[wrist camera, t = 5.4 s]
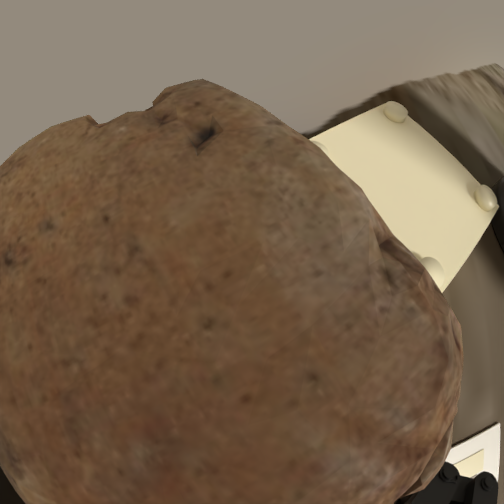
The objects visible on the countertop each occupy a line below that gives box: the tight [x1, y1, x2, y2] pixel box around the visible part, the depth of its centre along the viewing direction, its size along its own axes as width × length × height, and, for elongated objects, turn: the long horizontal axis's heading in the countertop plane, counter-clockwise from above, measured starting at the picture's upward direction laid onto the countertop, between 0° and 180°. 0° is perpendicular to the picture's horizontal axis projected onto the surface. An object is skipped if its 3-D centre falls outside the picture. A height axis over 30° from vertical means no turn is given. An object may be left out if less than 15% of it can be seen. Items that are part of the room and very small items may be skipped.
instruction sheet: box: [445, 423, 500, 482], centre depth 15 cm, size 10×14×1 cm
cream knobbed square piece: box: [309, 101, 499, 293], centre depth 25 cm, size 16×16×6 cm
